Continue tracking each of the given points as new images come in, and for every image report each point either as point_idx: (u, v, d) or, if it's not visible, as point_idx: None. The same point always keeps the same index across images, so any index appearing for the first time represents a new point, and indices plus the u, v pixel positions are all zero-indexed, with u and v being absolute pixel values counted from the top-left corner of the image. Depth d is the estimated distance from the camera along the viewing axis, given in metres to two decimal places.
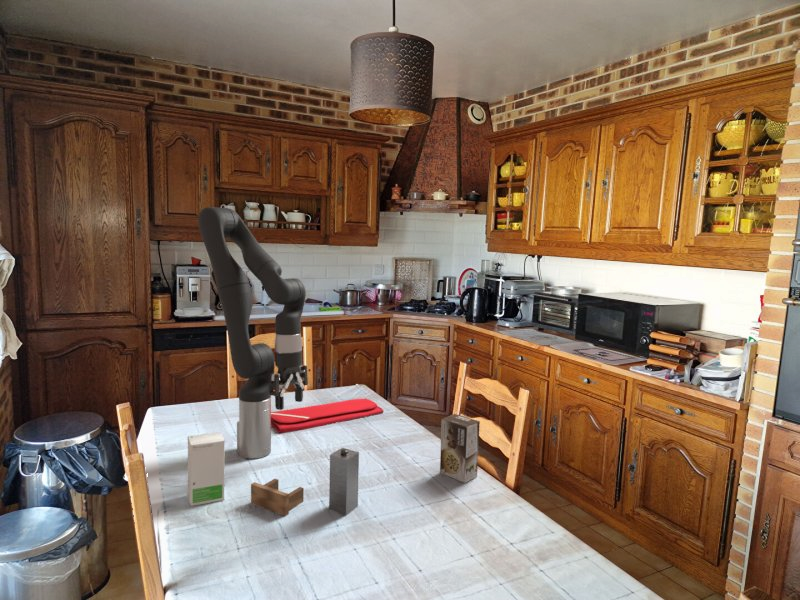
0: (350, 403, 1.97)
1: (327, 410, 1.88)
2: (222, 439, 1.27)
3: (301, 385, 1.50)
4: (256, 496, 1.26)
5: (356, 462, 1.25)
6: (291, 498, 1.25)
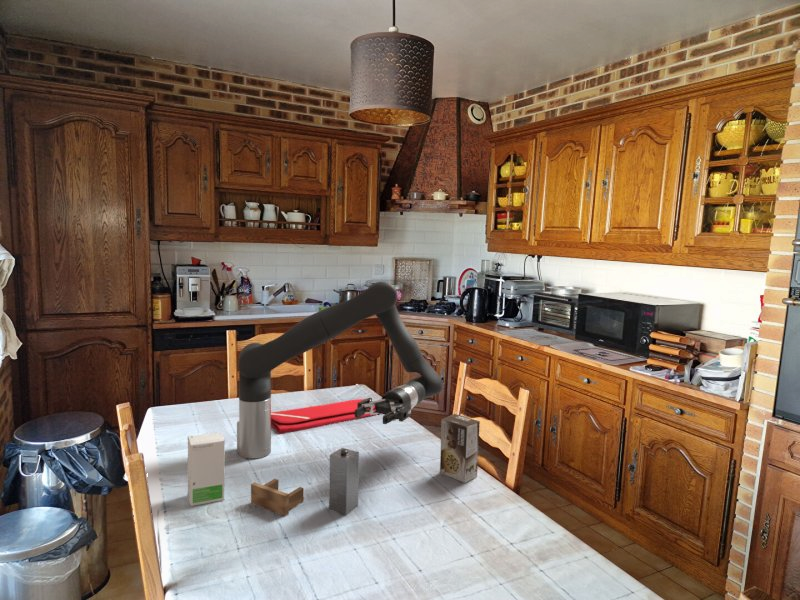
0: (350, 403, 1.97)
1: (327, 410, 1.87)
2: (222, 439, 1.27)
3: None
4: (256, 496, 1.26)
5: (356, 462, 1.25)
6: (291, 498, 1.25)
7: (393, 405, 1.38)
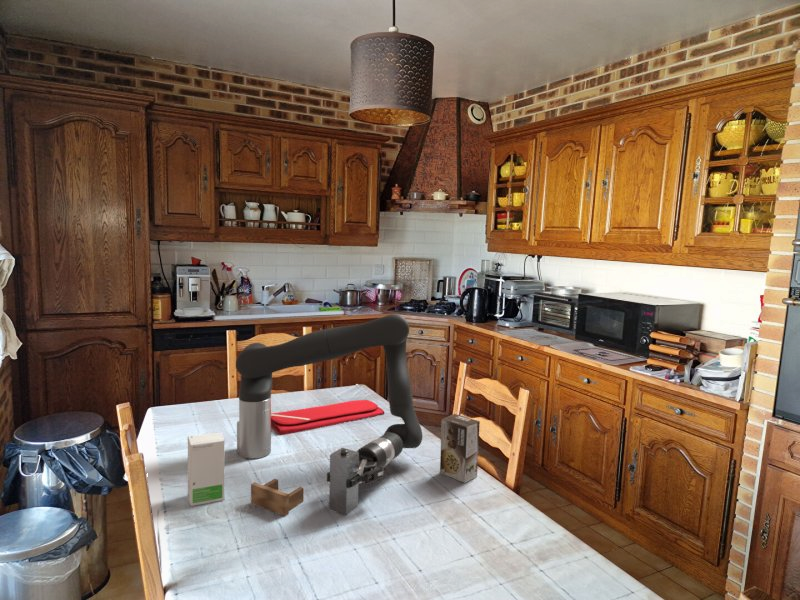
0: (351, 404, 1.96)
1: (327, 411, 1.86)
2: (222, 439, 1.27)
3: None
4: (256, 496, 1.26)
5: (356, 462, 1.25)
6: (291, 498, 1.25)
7: (363, 465, 1.28)
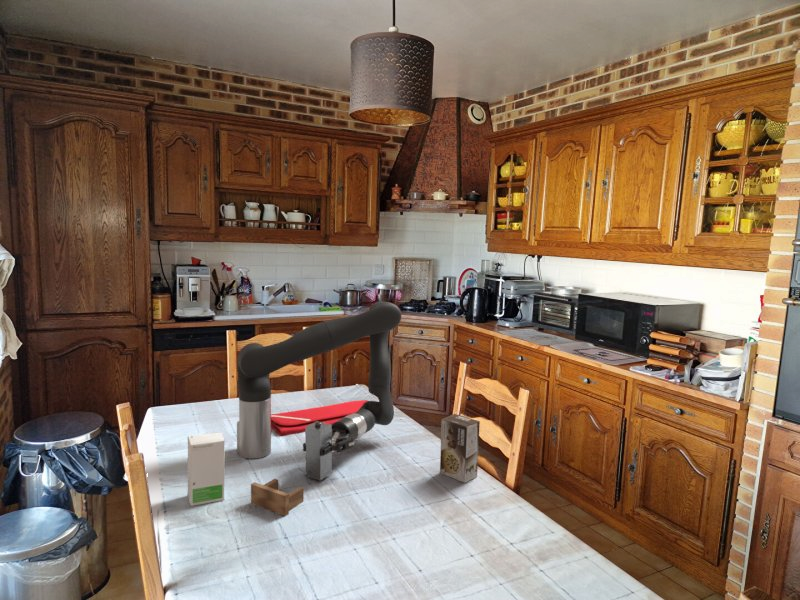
0: (351, 404, 1.95)
1: (328, 412, 1.86)
2: (222, 439, 1.27)
3: None
4: (256, 496, 1.26)
5: (329, 433, 1.40)
6: (291, 498, 1.25)
7: (336, 436, 1.43)
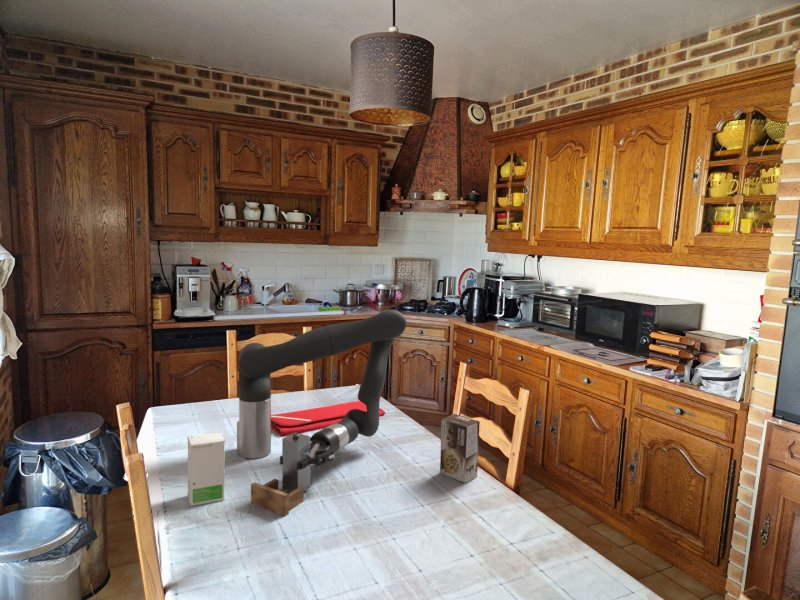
0: (351, 405, 1.95)
1: (328, 412, 1.85)
2: (222, 439, 1.27)
3: None
4: (256, 496, 1.26)
5: (307, 445, 1.32)
6: (291, 498, 1.25)
7: (315, 449, 1.35)
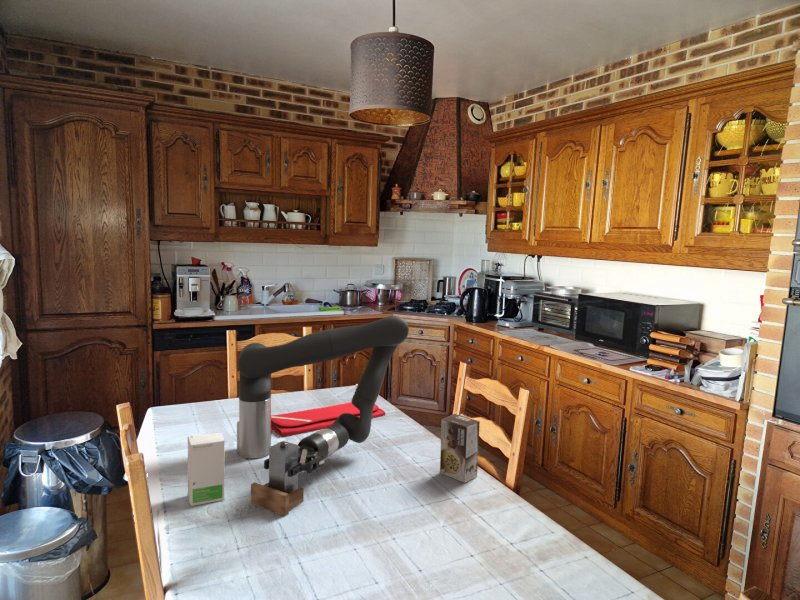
0: (351, 405, 1.95)
1: (328, 412, 1.85)
2: (222, 439, 1.27)
3: None
4: (256, 496, 1.26)
5: (295, 454, 1.28)
6: (291, 498, 1.25)
7: (304, 454, 1.31)
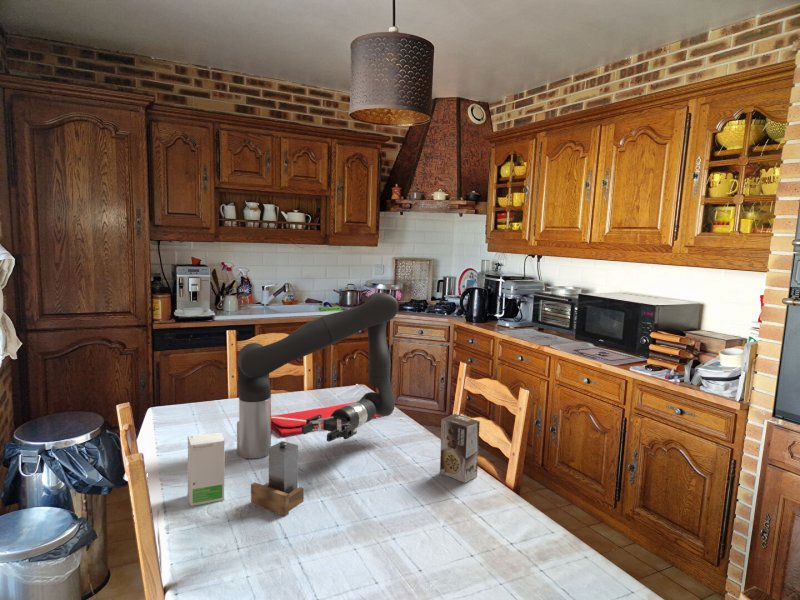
0: None
1: (328, 413, 1.84)
2: (222, 439, 1.27)
3: None
4: (256, 496, 1.26)
5: (295, 455, 1.28)
6: (291, 498, 1.25)
7: (339, 423, 1.44)
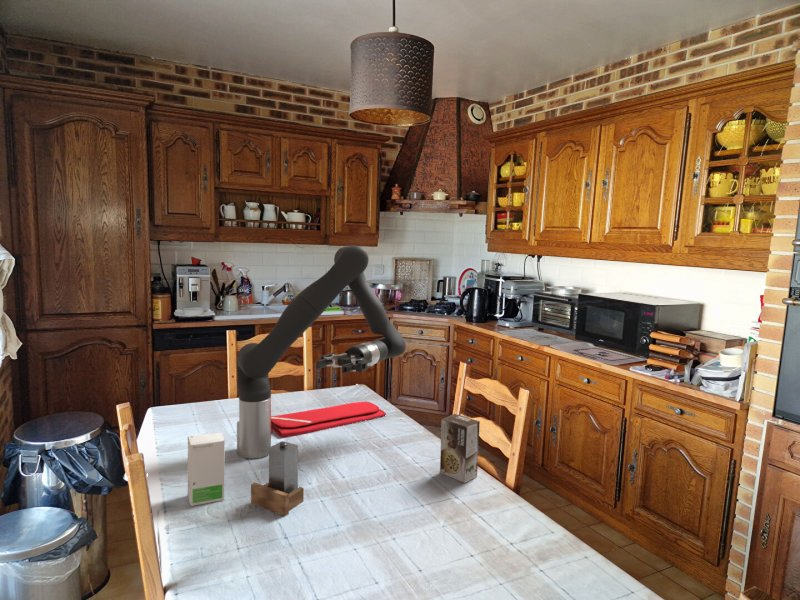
0: (351, 406, 1.94)
1: (329, 413, 1.84)
2: (222, 439, 1.27)
3: None
4: (256, 496, 1.26)
5: (295, 455, 1.28)
6: (291, 498, 1.25)
7: (353, 358, 1.47)
